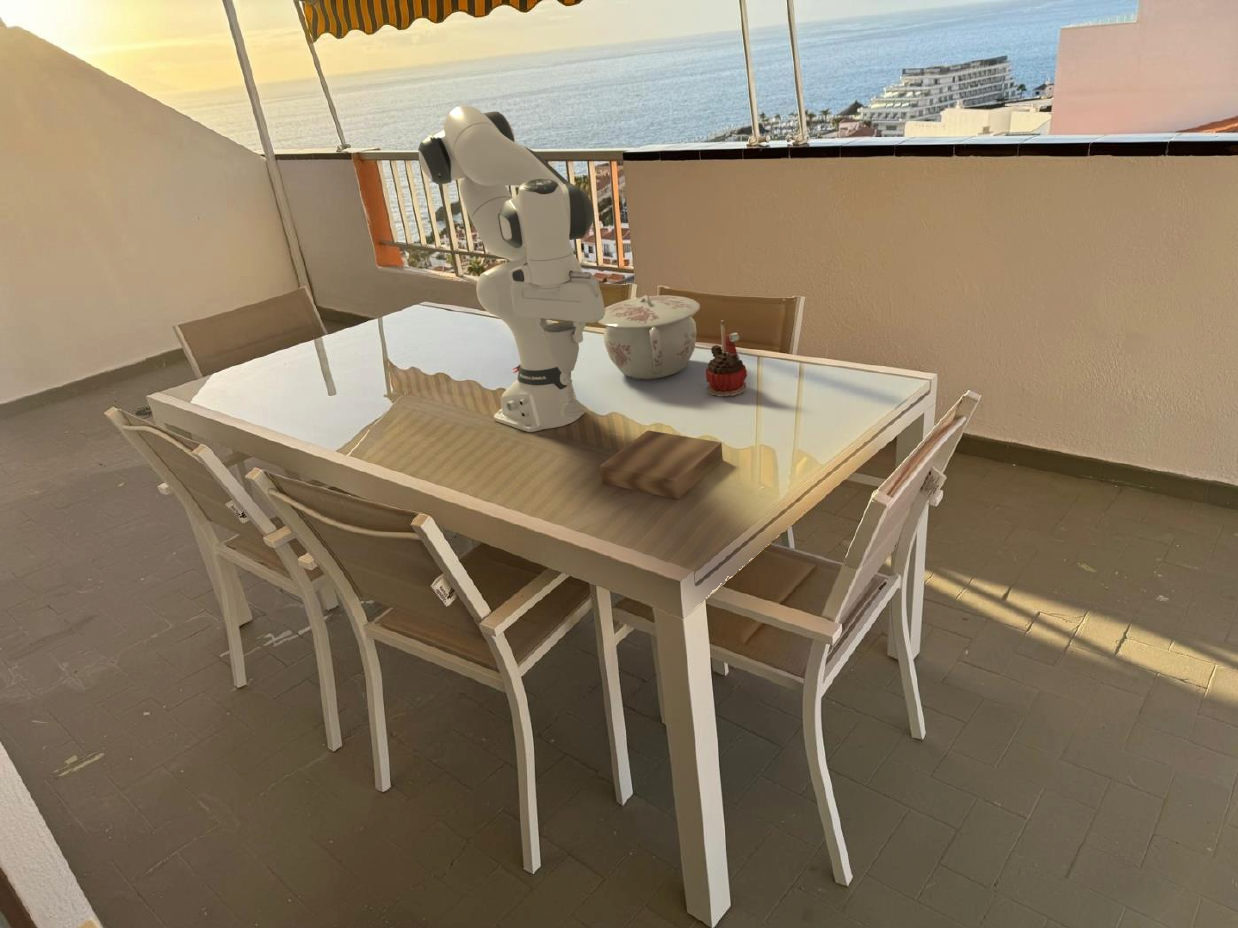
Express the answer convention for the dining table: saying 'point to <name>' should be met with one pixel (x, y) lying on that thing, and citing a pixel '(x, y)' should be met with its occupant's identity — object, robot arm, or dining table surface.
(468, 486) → the dining table surface
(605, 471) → the plinth
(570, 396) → the chalice
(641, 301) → the chamber pot
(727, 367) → the cake
